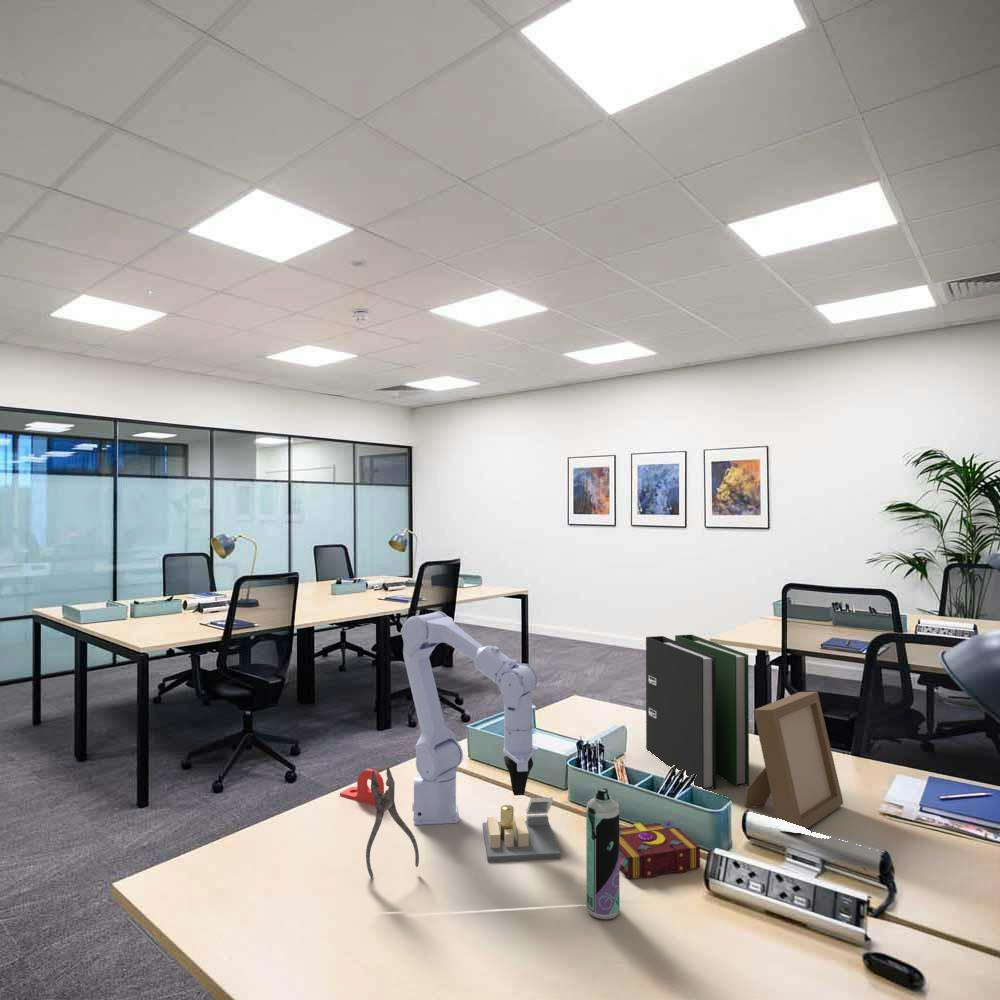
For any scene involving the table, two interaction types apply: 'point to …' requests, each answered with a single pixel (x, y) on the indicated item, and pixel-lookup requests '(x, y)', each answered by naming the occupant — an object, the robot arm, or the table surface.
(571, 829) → the table surface
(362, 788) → the bracket
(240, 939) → the table surface
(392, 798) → the pliers
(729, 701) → the binder
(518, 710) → the robot arm
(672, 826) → the decorative book
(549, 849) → the board
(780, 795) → the photo frame
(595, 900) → the spray can
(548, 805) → the grey flat plate
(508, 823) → the pin
